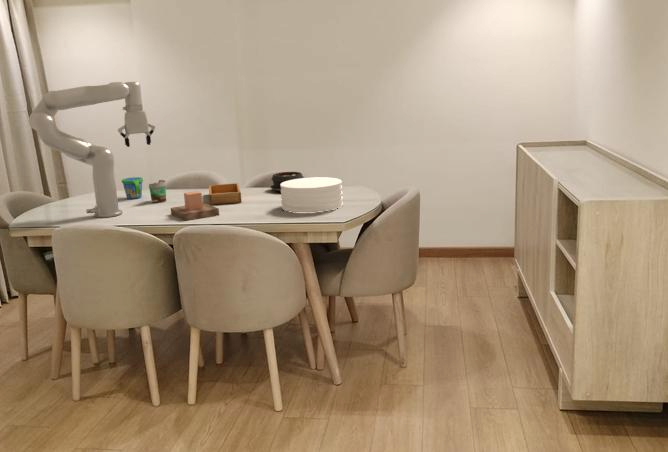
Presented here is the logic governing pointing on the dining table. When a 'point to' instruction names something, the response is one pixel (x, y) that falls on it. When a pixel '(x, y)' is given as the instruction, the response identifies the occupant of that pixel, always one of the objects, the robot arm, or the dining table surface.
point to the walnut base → (194, 212)
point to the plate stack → (311, 194)
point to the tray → (224, 194)
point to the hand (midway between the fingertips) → (138, 145)
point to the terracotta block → (193, 200)
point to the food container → (158, 191)
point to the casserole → (284, 178)
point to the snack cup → (133, 187)
